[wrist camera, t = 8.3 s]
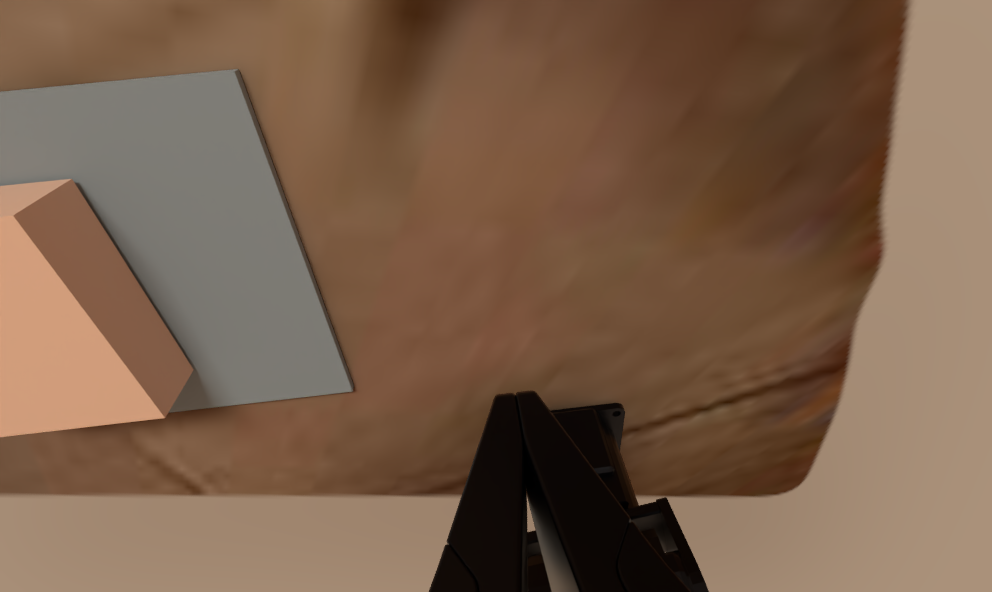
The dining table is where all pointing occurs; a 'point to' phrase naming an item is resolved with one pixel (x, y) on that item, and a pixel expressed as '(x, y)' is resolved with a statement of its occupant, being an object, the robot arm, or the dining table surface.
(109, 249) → the tile
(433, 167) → the dining table surface
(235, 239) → the mat
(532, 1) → the dining table surface
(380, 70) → the dining table surface
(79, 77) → the dining table surface
